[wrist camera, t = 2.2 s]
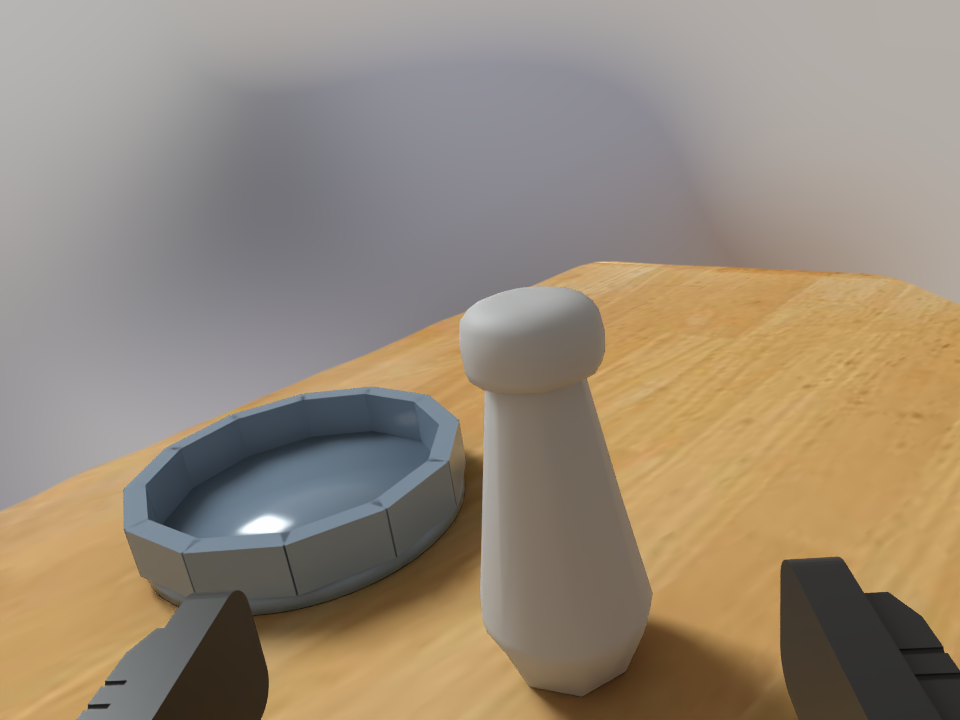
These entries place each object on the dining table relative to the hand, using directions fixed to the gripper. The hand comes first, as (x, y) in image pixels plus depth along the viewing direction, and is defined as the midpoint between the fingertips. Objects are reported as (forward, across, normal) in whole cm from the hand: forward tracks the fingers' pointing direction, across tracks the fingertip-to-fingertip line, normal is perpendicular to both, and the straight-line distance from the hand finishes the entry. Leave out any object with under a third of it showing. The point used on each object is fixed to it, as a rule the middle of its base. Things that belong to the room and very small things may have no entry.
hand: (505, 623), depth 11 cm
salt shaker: (+12, 0, +12) cm, 17 cm away
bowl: (+23, +13, +11) cm, 29 cm away
